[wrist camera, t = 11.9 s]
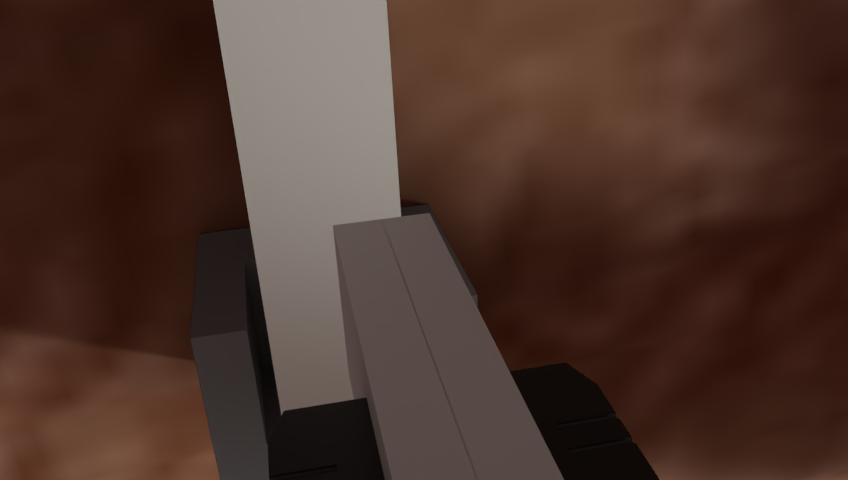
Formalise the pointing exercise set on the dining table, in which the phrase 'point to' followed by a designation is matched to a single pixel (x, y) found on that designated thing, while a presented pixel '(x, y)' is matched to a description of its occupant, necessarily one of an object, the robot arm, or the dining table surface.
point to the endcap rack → (242, 349)
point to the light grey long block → (309, 166)
